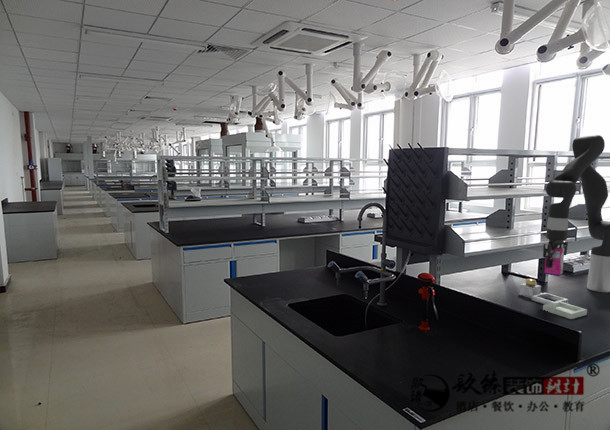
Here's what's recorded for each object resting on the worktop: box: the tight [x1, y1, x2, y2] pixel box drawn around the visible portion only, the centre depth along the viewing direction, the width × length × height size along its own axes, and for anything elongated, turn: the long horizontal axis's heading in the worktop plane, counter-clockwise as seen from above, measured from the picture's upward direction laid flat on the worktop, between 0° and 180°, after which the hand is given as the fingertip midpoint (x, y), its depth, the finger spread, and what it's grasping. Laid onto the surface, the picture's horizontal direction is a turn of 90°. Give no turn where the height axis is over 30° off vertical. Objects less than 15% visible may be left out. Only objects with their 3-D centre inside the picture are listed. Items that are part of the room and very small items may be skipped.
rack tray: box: [542, 301, 588, 320], centre depth 162 cm, size 11×11×2 cm
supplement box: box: [544, 248, 565, 277], centre depth 171 cm, size 6×6×12 cm
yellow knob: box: [525, 278, 537, 286], centre depth 181 cm, size 4×4×6 cm
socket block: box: [518, 282, 570, 305], centre depth 177 cm, size 10×17×5 cm, turn 28°
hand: (553, 266), depth 172 cm, fingers closed on supplement box, 6 cm apart
